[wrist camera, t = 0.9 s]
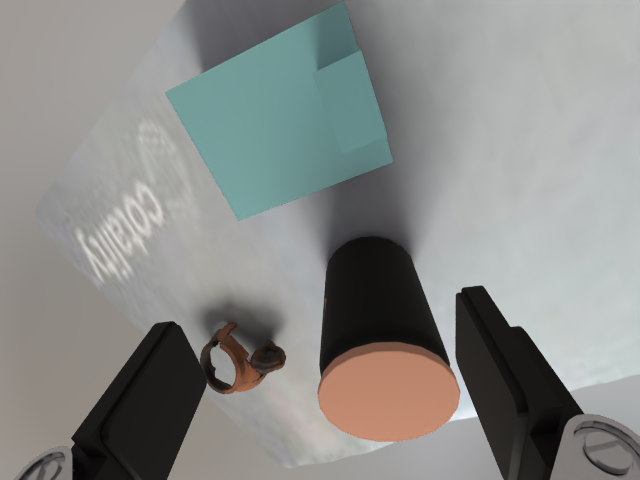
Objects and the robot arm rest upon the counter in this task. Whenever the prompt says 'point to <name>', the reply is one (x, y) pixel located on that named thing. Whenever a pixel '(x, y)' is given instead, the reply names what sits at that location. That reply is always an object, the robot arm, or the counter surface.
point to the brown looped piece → (241, 362)
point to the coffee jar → (381, 347)
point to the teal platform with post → (286, 115)
